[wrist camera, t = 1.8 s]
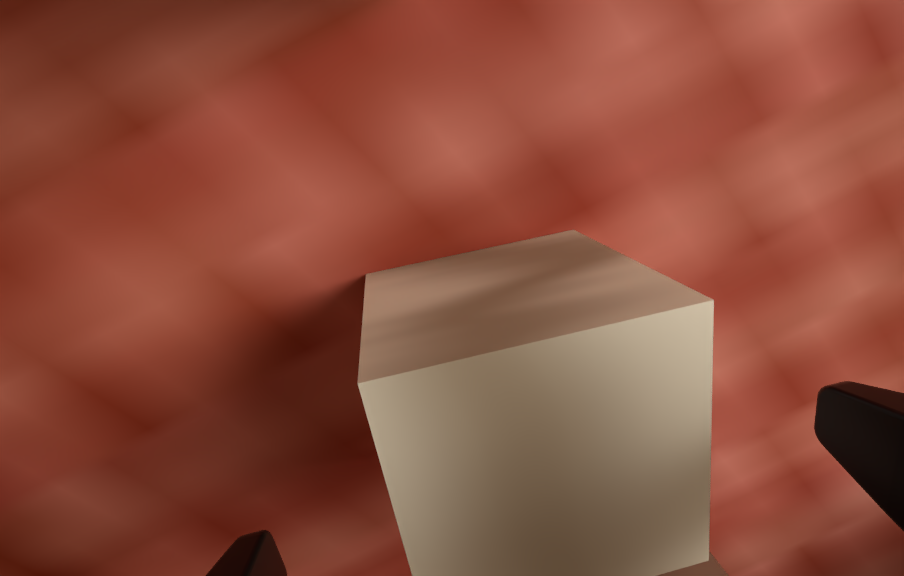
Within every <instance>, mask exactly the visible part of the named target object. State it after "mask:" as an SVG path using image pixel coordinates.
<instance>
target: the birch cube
mask: <svg viewBox="0 0 904 576" xmlns="http://www.w3.org/2000/svg"><path fill="white" fill-rule="evenodd" d="M713 315H714V300H713V299H711V298H709V297H707V296H705V295H703V294H701V293H699V292H697V291H695V290H693V289H691V288H689V287H687V286H685V285H683V284H681V283H679V282H677V281H675V280H673V279H671V278H669V277H667V276H665V275H663V274H661V273H659V272H657V271H655V270H653V269H651V268H649V267H647V266H645V265H643V264H641V263H639V262H637V261H635V260H633V259H631V258H629V257H627V256H625V255H623V254H621V253H619V252H617V251H615V250H613V249H611V248H609V247H607V246H605V245H603V244H601V243H599V242H597V241H595V240H593V239H591V238H589V237H587V236H585V235H583V234H581V233H579V232H577V231H575V230H570V231H565V232H560V233H556V234H551V235H546V236H542V237H537V238H532V239H528V240H523V241H518V242H514V243H509V244H504V245H500V246H495V247H490V248H486V249H481V250H476V251H472V252H467V253H462V254H458V255H453V256H448V257H444V258H439V259H434V260H430V261H425V262H420V263H416V264H411V265H406V266H402V267H397V268H392V269H388V270H383V271H378V272H374V273H369V274H366V279H365V292H364V305H363V318H362V331H361V344H360V357H359V370H358V387H359V391H360V394H361V398H362V401H363V405H364V408H365V412H366V415H367V419H368V422H369V426H370V429H371V433H372V436H373V440H374V443H375V447H376V450H377V454H378V457H379V461H380V464H381V468H382V471H383V475H384V478H385V482H386V485H387V489H388V492H389V496H390V499H391V503H392V506H393V510H394V513H395V517H396V520H397V524H398V527H399V531H400V534H401V538H402V542H403V545H404V549H405V552H406V556H407V559H408V563H409V566H410V570H411V573H412V576H657V575H660V574H664V573H667V572H671V571H674V570H678V569H681V568H685V567H688V566H692V565H695V564H699V563H702V562H706V561H709V522H710V470H711V419H712V367H713Z"/></svg>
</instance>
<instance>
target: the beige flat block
mask: <svg viewBox="0 0 904 576" xmlns="http://www.w3.org/2000/svg"><path fill="white" fill-rule="evenodd" d="M657 576H728V574H727V573H726V572H725V571H724V569H723V568H722V567H721V565H720V564H719V563H718V562H717V560H716V559H715V558H714V557H713V555H712V554H711V553H710V552H709V561H706V562H702V563H699V564H695V565H692V566H688V567H685V568H681V569H678V570H674V571H671V572H667V573H664V574H660V575H657Z"/></svg>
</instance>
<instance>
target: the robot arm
mask: <svg viewBox="0 0 904 576" xmlns="http://www.w3.org/2000/svg"><path fill="white" fill-rule="evenodd" d="M814 429H815V434H816V436H817V438H818V440H819V441H820V443H821V444H822V445H823V446H824V447H825V448H826V449H827V450H828V451H829V453H830V454H831V455H832V456H833V457H834V458H835V459H836V460H837V461H838V462H839V463H840V464H841V465H842V466H843V468H844V469H845V470H846V471H847V472H848V473H849V474H850V475H851V476H852V477H853V478H854V479H855V480H856V482H857V483H858V484H859V485H860V486H861V487H862V488H863V489H864V490H865V491H866V492H867V493H868V494H869V495H870V497H871V498H872V499H873V500H874V501H875V502H876V503H877V504H878V505H879V506H880V507H881V508H882V509H883V511H884V512H885V513H886V514H887V515H888V516H889V517H890V518H891V519H892V520H893V521H894V522H895V523H896V524H897V525H898V526H899V527H900V528H901V529H902V530H903V531H904V393H900V392H896V391H891V390H887V389H882V388H878V387H873V386H869V385H864V384H860V383H855V382H850V381H844V382H839V383H835V384H831V385H827V386H824V387H823V388H821V389H820V391H819V392H818V397H817V406H816V415H815V424H814ZM206 576H287V572H286V568H285V565H284V563H283V561H282V558H281V556H280V553H279V551H278V548H277V546H276V544H275V541H274V539H273V536H272V535H271V533H270V532H269V531H267V530H261V531H258V532H254V533H250V534H246V535H243V536H240V537H239V538H238V539H237V540H236V541H235V542H234V543H233V544H232V545H231V546H230V547H229V549H228V550H227V551H226V552H225V553H224V555H223V556H222V557H221V558H220V559H219V560H218V562H217V563H216V564H215V565H214V566H213V567H212V569H211V570H210V571H209V572H208V573H207V575H206Z"/></svg>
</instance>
